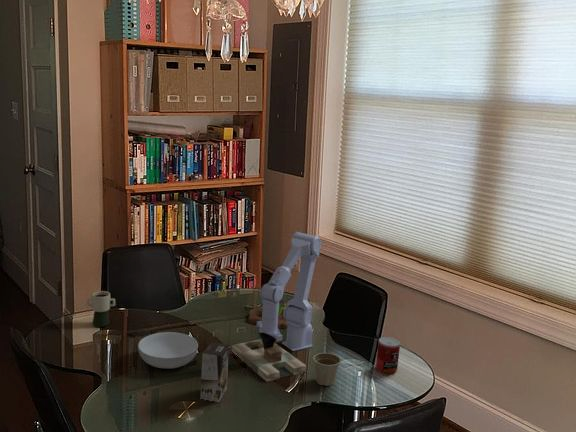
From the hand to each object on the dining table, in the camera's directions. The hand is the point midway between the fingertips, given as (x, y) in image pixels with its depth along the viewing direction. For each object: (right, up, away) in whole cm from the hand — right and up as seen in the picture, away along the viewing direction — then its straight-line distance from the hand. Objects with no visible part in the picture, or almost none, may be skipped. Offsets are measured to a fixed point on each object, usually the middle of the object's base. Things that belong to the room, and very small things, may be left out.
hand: (267, 352), depth 236 cm
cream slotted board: (0, -4, +1) cm, 4 cm away
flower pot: (+20, -8, -11) cm, 24 cm away
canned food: (+43, -7, +1) cm, 43 cm away
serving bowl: (-35, -3, -4) cm, 36 cm away
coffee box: (-17, -9, -25) cm, 31 cm away
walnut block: (+2, -2, -3) cm, 4 cm away
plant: (+1, +5, +41) cm, 41 cm away
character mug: (-67, +6, +23) cm, 71 cm away
